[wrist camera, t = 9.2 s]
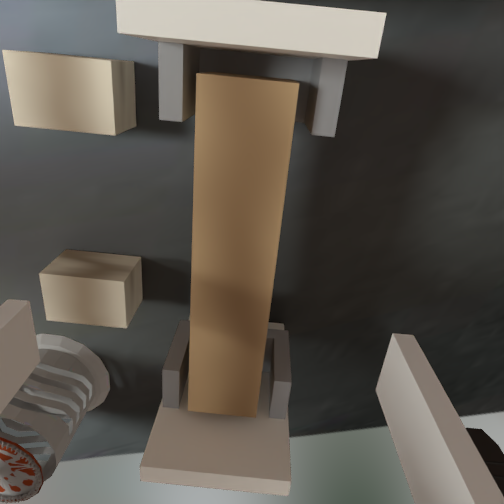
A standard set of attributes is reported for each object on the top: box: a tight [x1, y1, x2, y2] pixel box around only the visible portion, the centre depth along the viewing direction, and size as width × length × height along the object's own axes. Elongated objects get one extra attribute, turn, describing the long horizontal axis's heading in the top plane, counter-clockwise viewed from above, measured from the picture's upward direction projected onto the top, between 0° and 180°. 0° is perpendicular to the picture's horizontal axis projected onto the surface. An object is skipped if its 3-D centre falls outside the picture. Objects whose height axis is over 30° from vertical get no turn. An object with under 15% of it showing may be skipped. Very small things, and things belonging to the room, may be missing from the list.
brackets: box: [116, 0, 387, 496], centre depth 23 cm, size 8×22×14 cm, turn 175°
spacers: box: [2, 50, 143, 328], centre depth 27 cm, size 6×18×4 cm, turn 175°
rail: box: [188, 72, 299, 418], centre depth 21 cm, size 4×18×5 cm, turn 175°
